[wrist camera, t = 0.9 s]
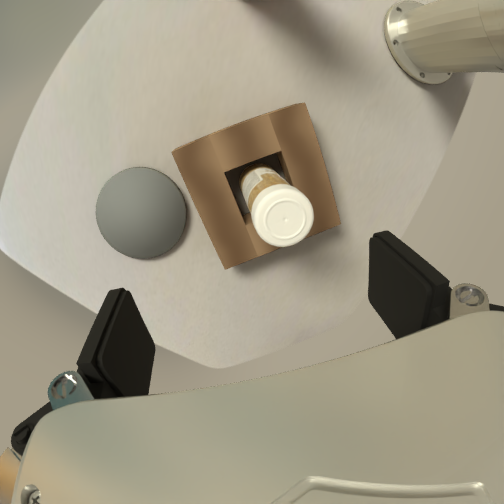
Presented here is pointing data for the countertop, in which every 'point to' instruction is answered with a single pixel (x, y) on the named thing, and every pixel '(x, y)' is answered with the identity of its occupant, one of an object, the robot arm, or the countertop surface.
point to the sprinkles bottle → (275, 206)
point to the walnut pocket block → (244, 151)
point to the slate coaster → (141, 212)
